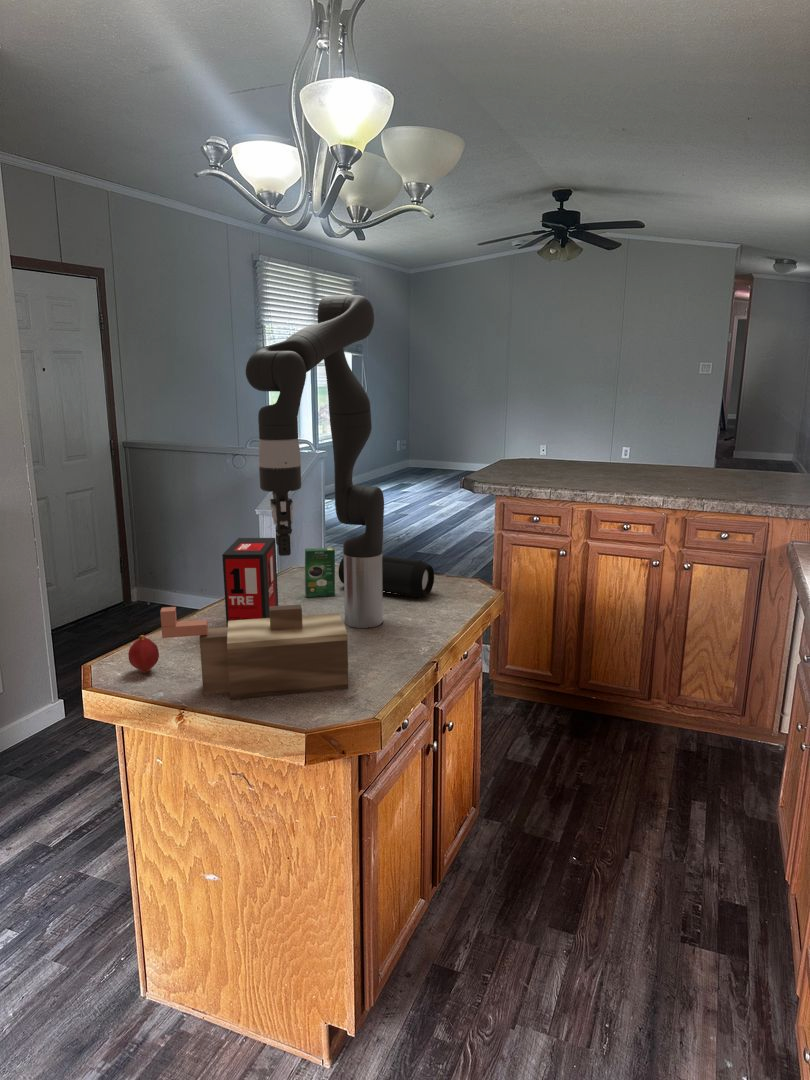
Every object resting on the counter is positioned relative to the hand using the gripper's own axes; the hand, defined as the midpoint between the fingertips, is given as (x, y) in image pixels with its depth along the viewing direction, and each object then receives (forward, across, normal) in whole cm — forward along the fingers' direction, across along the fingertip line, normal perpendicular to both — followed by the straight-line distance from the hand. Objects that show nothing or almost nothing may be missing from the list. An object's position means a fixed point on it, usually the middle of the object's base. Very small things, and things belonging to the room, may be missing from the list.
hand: (283, 549), depth 137 cm
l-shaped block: (+15, 0, +19) cm, 24 cm away
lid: (+18, 0, 0) cm, 18 cm away
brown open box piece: (+26, 0, +2) cm, 27 cm away
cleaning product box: (+27, +33, +6) cm, 43 cm away
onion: (+27, +11, +28) cm, 40 cm away
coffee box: (+27, +55, -12) cm, 62 cm away
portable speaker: (+27, +55, -30) cm, 68 cm away
